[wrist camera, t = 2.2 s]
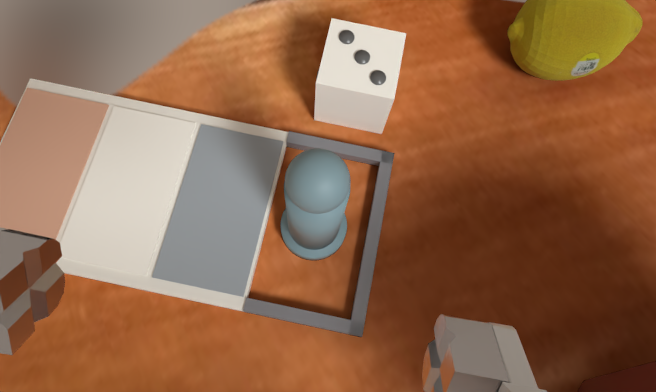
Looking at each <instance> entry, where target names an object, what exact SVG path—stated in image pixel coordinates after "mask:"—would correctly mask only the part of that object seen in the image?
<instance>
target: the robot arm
mask: <svg viewBox="0 0 656 392" xmlns="http://www.w3.org/2000/svg"><path fill="white" fill-rule="evenodd" d="M61 257H62V252H61V246H60V243H59V242H58V241H57V240H55V239H53V238H49V237H44V236H39V235H35V234H30V233H26V232H21V231H16V230H12V229H6V228H1V227H0V353H2V354H8V355H13V354H14V353H15V352H16V351H17V350H18V349H19V348H20V347H21V345H22V344H23V343H24V342H25V341H26V340H27V339H28V338H29V337H30V336H31V335H32V334H33V333H34V331H35V325H34V322H36V321H38V320H41V319H43V318H45V317H48V316H49V315H50V314H51V313H52V312H53V311H54V309H55V308H56V307H57V306H58V304H59V302H60V300H61V297H62V295H63V293H64V287H65V277H64V272H63V271H62V270H61V269H60V267H59V266H58V265H57V264H56V262H57V261H58V260H59V259H60V258H61ZM434 333H435V340H433V341H432V342H430V343H429V344H428V346H427V349H426V352H425V356H424V362H423V368H422V382H423V390H424V391H425V392H547V391H546V390H542V389H538V386H537V383H536V381H535V378H534V375H533V373H532V370H531V368H530V365H529V362H528V360H527V357H526V354H525V352H524V349H523V347H522V344H521V341H520V339H519V336H518V334H517V331H516V329H515V328H514V327H513V326H509V325H503V324H497V323H491V322H488V323H486V322H481V321H476V320H471V319H466V318H460V317H455V316H450V315H444V314H440V316H439V317H438V319H437V321H436V324H435V326H434Z"/></svg>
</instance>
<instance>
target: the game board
mask: <svg viewBox="0 0 656 392" xmlns="http://www.w3.org/2000/svg"><path fill="white" fill-rule="evenodd" d="M286 147H290V148H295V149H300V150H304V151H306V150H309V149H314V148H321V149H326V150H329V151H332V152H334V153H335V154H337V155H338V156H339V157H340V158H343V159H347V160H352V161H357V162H362V163H367V164H371V165H376V166H379V167H378V172H377V178H376V183H375V189H374V194H373V199H372V205H371V210H370V216H369V221H368V227H367V232H366V237H365V243H364V248H363V254H362V259H361V265H360V270H359V275H358V281H357V286H356V292H355V297H354V303H353V308H352V314H351V319H350V320H349V319H344V318H339V317H335V316H330V315H325V314H321V313H316V312H311V311H307V310H302V309H297V308H293V307H288V306H283V305H279V304H274V303H269V302H265V301H260V300H255V299H251V298H248V296H249V293H250V289H251V285H252V281H253V277H254V273H255V269H256V265H257V261H258V257H259V253H260V249H261V245H262V241H263V238H264V234H265V230H266V226H267V222H268V218H269V214H270V210H271V206H272V202H273V198H274V194H275V190H276V186H277V183H278V179H279V175H280V171H281V167H282V163H283V159H284V155H285V151H286ZM393 157H394V153H391V152H386V151H381V150H376V149H372V148H367V147H362V146H357V145H353V144H348V143H343V142H338V141H333V140H329V139H324V138H319V137H314V136H309V135H305V134H300V133H295V132H290V131H289V132H285V131H281V130H276V129H271V128H266V127H262V126H257V125H252V124H247V123H242V122H238V121H233V120H228V119H223V118H218V117H214V116H209V115H204V114H199V113H195V112H190V111H185V110H180V109H175V108H171V107H166V106H161V105H156V104H151V103H147V102H142V101H137V100H132V99H128V98H123V97H118V96H113V95H108V94H104V93H99V92H94V91H89V90H84V89H80V88H75V87H70V86H65V85H60V84H56V83H50V82H46V81H41V80H36V79H32V78H30V80H29V82H28V84H27V86H26V89H25V91H24V93H23V95H22V97H21V99H20V101H19V103H18V106H17V108H16V110H15V112H14V114H13V116H12V118H11V120H10V123H9V125H8V127H7V129H6V131H5V133H4V135H3V138H2V140H1V142H0V227H1V228H6V229H12V230H16V231H21V232H26V233H30V234H35V235H39V236H44V237H49V238H53V239H55V240H57V241H58V242H59V243H60V246H61V252H62V257H61V258H60V259H59V260H58V261H57V262H56V264H57V265H58V266H59V267H60V269H61V270H62V271H63V272H64V273H66V274H70V275H75V276H80V277H84V278H89V279H94V280H98V281H103V282H108V283H112V284H117V285H121V286H126V287H131V288H135V289H140V290H145V291H149V292H154V293H159V294H163V295H168V296H173V297H177V298H182V299H186V300H191V301H196V302H200V303H205V304H210V305H214V306H219V307H224V308H228V309H233V310H238V311H242V312H247V313H251V314H256V315H261V316H265V317H270V318H275V319H279V320H284V321H289V322H293V323H298V324H303V325H307V326H312V327H316V328H321V329H326V330H330V331H335V332H340V333H344V334H349V335H354V336H358V337H362V335H363V329H364V324H365V318H366V312H367V306H368V301H369V295H370V289H371V283H372V278H373V272H374V266H375V260H376V255H377V249H378V243H379V238H380V232H381V226H382V220H383V215H384V209H385V203H386V197H387V192H388V186H389V180H390V174H391V169H392V163H393Z"/></svg>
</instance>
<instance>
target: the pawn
mask: <svg viewBox="0 0 656 392" xmlns="http://www.w3.org/2000/svg"><path fill="white" fill-rule="evenodd" d="M284 195H285V203H286V209H285V210H284V212H283V215H282V218H281V233H282V237H283V240H284V243H285V244H286V246H287V247H288V249H289V250H290V251H291V252H292V253H293V254H295V255H296V256H298V257H300V258H302V259H306V260H321V259H325V258H327V257H329V256H331V255H332V254H334V253H335V252H336V251H337V250H338V249H339V248H340V246H341V244H342V243H343V240H344V238H345V235H346V231H347V220H346V216H345V213H344V212H345V208H346V205H347V202H348V198H349V195H350V174H349V170H348V168H347V165H346V164H345V162H344V161H343V160H342V159H341V158H340V157H339V156H338V155H337V154H335V153H334V152H332V151H329V150H326V149H321V148H314V149H309V150H306V151H304V152H302V153H300V154H298V155H297V156H296V157H295V158H294V159H293V160H292V161H291V163H290V164H289V166H288V168H287V171H286V175H285V182H284Z"/></svg>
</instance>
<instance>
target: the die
mask: <svg viewBox="0 0 656 392" xmlns="http://www.w3.org/2000/svg"><path fill="white" fill-rule="evenodd" d="M405 38H406V33H401V32H397V31H392V30H387V29H382V28H377V27H372V26H367V25H362V24H358V23H353V22H348V21H343V20H338V19H333V18H332V19H331V23H330V27H329V31H328V35H327V39H326V44H325V48H324V52H323V56H322V60H321V64H320V68H319V70H318V73H317V78H316V90H315V111H314V120H317V121H321V122H326V123H331V124H336V125H341V126H345V127H350V128H355V129H360V130H365V131H369V132H374V133H379V134H382V132H383V129H384V126H385V123H386V121H387V118H388V115H389V112H390V110H391V107H392V104H393V101H394V98H395V93H396V87H397V82H398V76H399V71H400V65H401V60H402V54H403V49H404V43H405Z"/></svg>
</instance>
